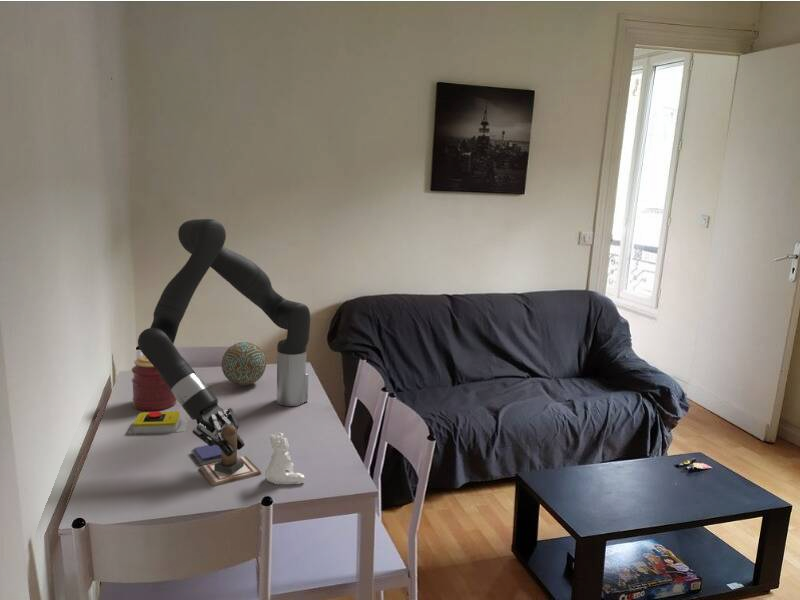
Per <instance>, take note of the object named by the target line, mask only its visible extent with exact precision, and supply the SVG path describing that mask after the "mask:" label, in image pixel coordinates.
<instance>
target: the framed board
mask: <svg viewBox="0 0 800 600" xmlns="http://www.w3.org/2000/svg"><path fill="white" fill-rule="evenodd" d="M237 459H239V460H243V461H244V466H243V467H242V468H240V469H239V470H238V471H236V472H235V473H234V474H232V475H231V474H227V473H223V472H219V471H215V470H214V465H215V464H216V463H218V462H215V463H210V464H206V465H202V466H201V465H200V466H199V467H198V469H199V471H200V472H201V473H202V474H203V476H204V478H206V479H207V481H208V482H209V483H210V484H211V486H212V487H215V486H219V485H223V484H227V483H231V482H234V481H239V480H242V479H243V480H244V479H247V478H251V477H255V476H258V475H262V471H261V470H260V469H259V468H258V467H257V466H256V465H255V464H254V462H252V461H251V460H250V459H249V458H248V457H247V456H246V455H244V456H239V457H238V456H237Z"/></svg>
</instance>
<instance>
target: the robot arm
mask: <svg viewBox="0 0 800 600" xmlns="http://www.w3.org/2000/svg"><path fill="white" fill-rule="evenodd" d="M177 233H178V234H177V235H178V241H179V243H180V244H181V246H182V248H184V250H185V251H187V252H188V253H189V254H191V255H190V256H189V258H188V260H187V261H186V262H185V264H184V265H183V266H182V268H181V269H180V270H178V272H177V273H176V274H175V275H174V276H173V277H172V279H171V280H170V281H169V282H168V283H167V285H166V286H165V287H164V289H163V291H162V293H161V295H160V297H159V298H158V299H159V300H158V301H157V304H156V306H155V307H154V311H153V321H152V322H151V325H150V327H148V328H146V329H144V330H143V331H142V332H141V333H140V334H139V335H138V337H137V346H138V349H139V351H140V353H142V355H144V356H145V357H146V358H147V359H148V360H149V361H150V362H151V364H152V365H153V366H154V367H155V368H156V369H157V371H158V372H159V374H160V376H161V377H162V379H163V380H164V382H165V383H166V384H167V386H168V387H169V388H170V390H171V391H172V392H173V394H174V396H175V398H176V399H177V400H176V402H178V403H179V405H180V406H181V407H182V409H183V410H184V411H185V412H186V414H187V415H188V417H189V418H190V419H191V420H192V421H194V420H195V421H196V424H197V425H196V427H195V428H194V429H192V434H193V435H195V436H196V437H197V438H199V439H200V440H201V441H203V443H206V445H209V446H213V445H217V446H219V447H220V449H221V450H222V451H223V453H224V454H225V455H227V456H228V457H229V456H231V455H232V454H233V453H234V452H235V451H234V449H233V448H232V446H231V445H230V444H229V443H228V441H227V440H225V438H224V436H223V434H222V430H223V428H224V427H225V426H227V425H233V426H235V427H236V429H237V431H238V430H239V428H241V427H240V426H241V425H240V424H239V421H238V419H237V416H236V414H235V411H234V410H233V408H232V407H229V408H227V409H223V408H222V407H221V406H219V405H218V403H219V400H218V398H217V397H216V396H215V394H214V393H213V392H212V391H211V389H210V388H209V387H208V385H207V383H205V381H204V380H203V379H202V378H201V377H200V376H199V375H198V374H197V373H196V372H195V370H194V369H193V368H192V366H191V365H190V363H188V362H187V360H186V359H185V358H184V357H183V356H182V355H181V354H180V352H179V350H178V349H177V348H176V346H175V345H174V344H175V343H174V342H175V340H176V337H177V333H178V330H179V326H180V323H181V322H182V320H183V317H184V316H185V313H186V312H187V309H188V307H189V305H190V303H191V300H192V297H193V295H194V294H195V292H196V290H197V288H198V286H199V285H200V283H201V281H202V280H203V279H204V277H205V275H206V274H207V272H208V271H209V270H210V268H211V269H212V270H214V272H216V274H218V275H219V276H220V277H222V278H223V279H224V280H225V281H227V282H228V283H229V285H231V287H233V288H234V289H235V290H237V291H238V292H239V293H240V294H242V295H243V297H245V298H246V299H248V300H249V301H250V302H251V303H253V304H254V305H255V306H257V307H258V308H259V309H260V310H262V311H263V312H264V314H265V315H266V316H267V317H268V318H269V319H270V321H271V322H272V323H274V325H275V326H277V327H278V328H280V329H283V330H287V334H286V338H284V339H282V340H279V341H278V342H277V346H276V348H277V349H276V350H277V353H276V355H277V356H276V357H277V358H276V404H278V405H280V406H286V407H296V406H297V407H298V406H301V405H303V404H305V403H307V402H306V401H309V395H308V394H309V374H308V373H307V346H308V344H309V341H310V340H309V339H310V331H311V329H310V328H311V312H310V311H311V310H310V309H309V307H308V306H307V305H306V304H304V303H301V302H297V301H293V300H289V299H286V298H284V297H283V296H282V295H280V294H279V293H278V292H277V291H275V289H274V288H273V285H272V282H271V280H270V277H269V276H268V275H267V273H266V272H265V271H264V270H262V269H261V268H260V266H259V265H257V264H256V263H255V262H254V261H252V260H251V259H249V258H247V257H245V256H243V255H241V254H240V253H237V252H235V251H233V250H231V249H229V248H227V247H226V246H224V245H225V242H226V237H227V233H226V229H225V227H224V225H223V224H222V223H221V221H218V219H217V220H216V219H215V218H214V219H212V218H210V219H209V218H202V219H201V218H199V219H197V218H196V219H195V218H194V219H190V220H186V221H185V222H183V223H181V225H180V226H179V227H178V232H177ZM304 402H305V403H304ZM302 403H303V404H302ZM300 404H301V405H300ZM243 447H245V443H244V440H243V439H242V438H241V436H240V435H239V433H237V451H240V450H242V449H243Z"/></svg>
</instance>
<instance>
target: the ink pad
mask: <svg viewBox="0 0 800 600" xmlns="http://www.w3.org/2000/svg"><path fill="white" fill-rule="evenodd" d="M190 452H191V455H192V456H193V457H194V459H195V460H196V461H197V462H198V463H199V465H200V466H204V465H208V464H212V463H217V462H219V461H221V460H222V450H221V449H220V447H219V446H217V445H213V446H209V445H208V444H206V445H202V446H201V445H200V446H196V447H193V449H191V451H190Z"/></svg>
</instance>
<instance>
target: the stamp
mask: <svg viewBox="0 0 800 600" xmlns="http://www.w3.org/2000/svg"><path fill="white" fill-rule="evenodd" d="M224 426H225V425H224ZM224 426H223V427H224ZM222 434H223V436H224V438H225V440H227V441H228V443H229V444H230V445H231V446H232V448H233V449H234V451H235V452H234V453H233V454H232V455H231V456H229V457H228V456H227V455H225V454H224V453H223V451H222V460H221V461H219V462H218V463H217V462H215V463H216V464H215V465H214V470H215V471H219V472H223V473H227V474H231V475H232V474H234V473H235V472H236V471H238V470H239V469H240V468H242V467H243V466H244V461H243V460H239V459H237V458H238V450H237V434H238V430H237V429H236V427H235V426H234V424H233V425H227V426H225V427H224V428H223V430H222Z"/></svg>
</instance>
